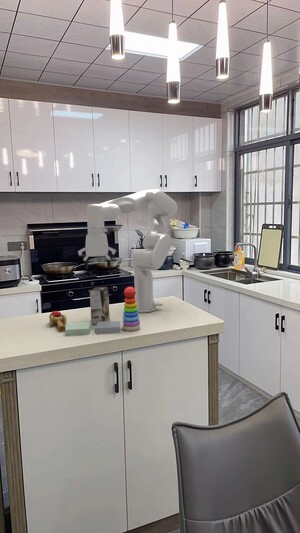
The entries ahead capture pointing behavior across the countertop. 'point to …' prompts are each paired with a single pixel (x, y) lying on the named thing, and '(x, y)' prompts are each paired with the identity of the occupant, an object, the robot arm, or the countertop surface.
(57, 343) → the countertop surface
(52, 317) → the kendama
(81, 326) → the sage brick
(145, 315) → the countertop surface
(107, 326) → the grey brick
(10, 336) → the countertop surface
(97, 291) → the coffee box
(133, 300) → the stacking toy
